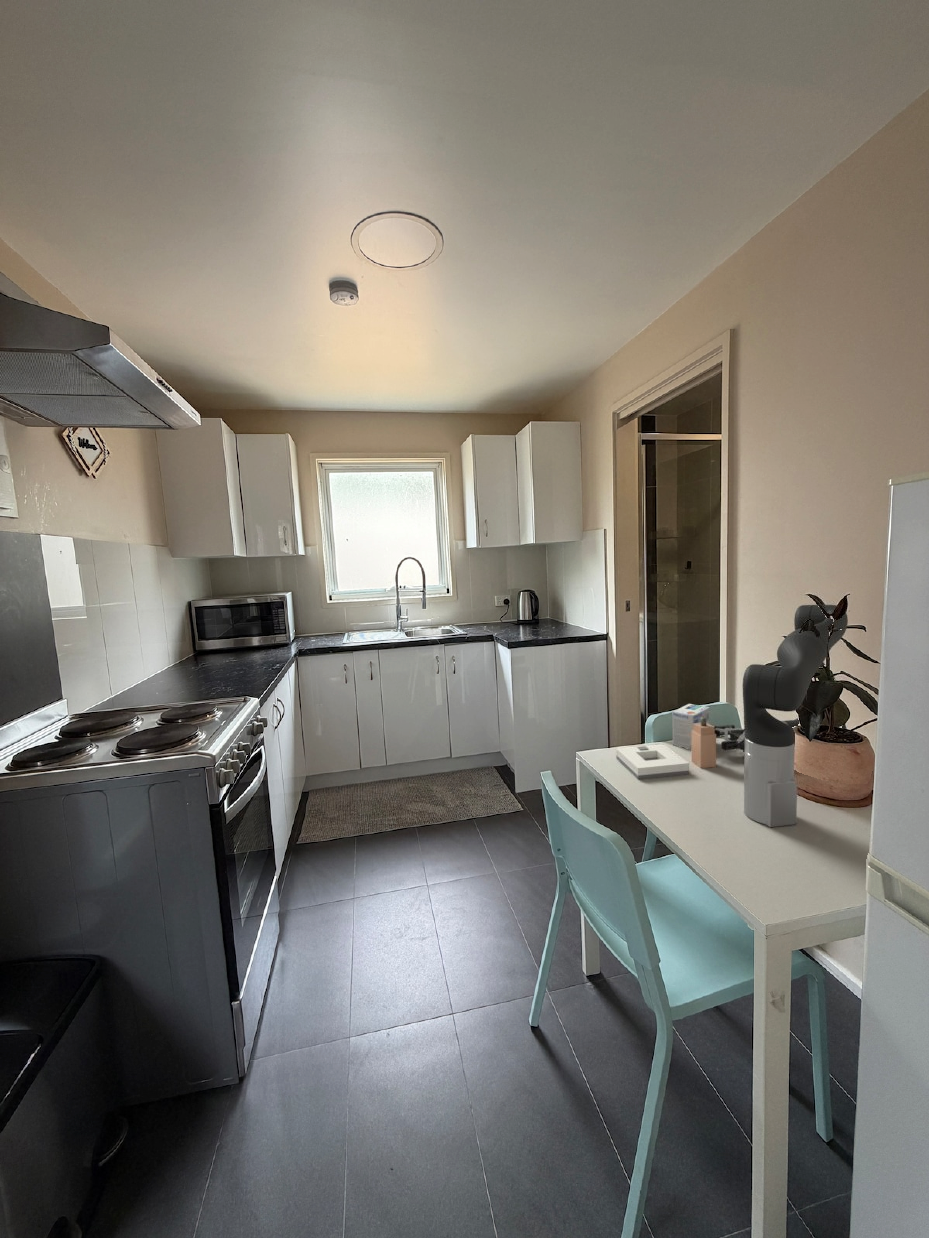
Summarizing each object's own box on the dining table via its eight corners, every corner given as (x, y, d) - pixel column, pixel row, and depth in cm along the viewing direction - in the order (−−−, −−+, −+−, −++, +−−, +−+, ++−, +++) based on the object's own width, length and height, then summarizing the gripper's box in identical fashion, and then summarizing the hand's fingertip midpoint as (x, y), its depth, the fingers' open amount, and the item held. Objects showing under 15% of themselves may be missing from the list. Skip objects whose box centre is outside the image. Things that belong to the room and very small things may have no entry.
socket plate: (689, 774, 133) (689, 761, 132) (637, 779, 131) (637, 767, 131) (663, 753, 147) (662, 743, 146) (616, 758, 145) (616, 747, 145)
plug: (716, 766, 136) (716, 719, 135) (700, 768, 136) (700, 721, 134) (706, 760, 141) (706, 714, 139) (691, 761, 140) (691, 716, 139)
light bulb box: (688, 735, 160) (688, 702, 158) (710, 741, 155) (710, 706, 153) (671, 745, 153) (671, 710, 152) (693, 751, 148) (693, 715, 146)
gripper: (751, 714, 146) (698, 718, 144) (787, 730, 132) (728, 735, 130) (751, 739, 147) (698, 744, 145) (787, 758, 133) (728, 763, 131)
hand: (712, 740), depth 138 cm, fingers open, 8 cm apart
